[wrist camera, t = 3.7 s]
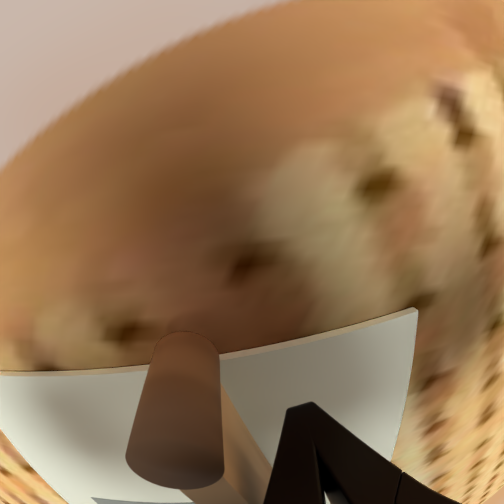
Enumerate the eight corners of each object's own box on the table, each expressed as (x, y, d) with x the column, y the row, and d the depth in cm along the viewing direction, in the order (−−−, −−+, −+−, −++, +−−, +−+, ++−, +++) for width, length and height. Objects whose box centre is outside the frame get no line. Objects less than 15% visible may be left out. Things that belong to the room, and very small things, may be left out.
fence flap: (297, 492, 9) (314, 555, 6) (259, 502, 9) (270, 565, 6) (203, 322, 7) (197, 429, 4) (142, 342, 7) (105, 444, 4)
